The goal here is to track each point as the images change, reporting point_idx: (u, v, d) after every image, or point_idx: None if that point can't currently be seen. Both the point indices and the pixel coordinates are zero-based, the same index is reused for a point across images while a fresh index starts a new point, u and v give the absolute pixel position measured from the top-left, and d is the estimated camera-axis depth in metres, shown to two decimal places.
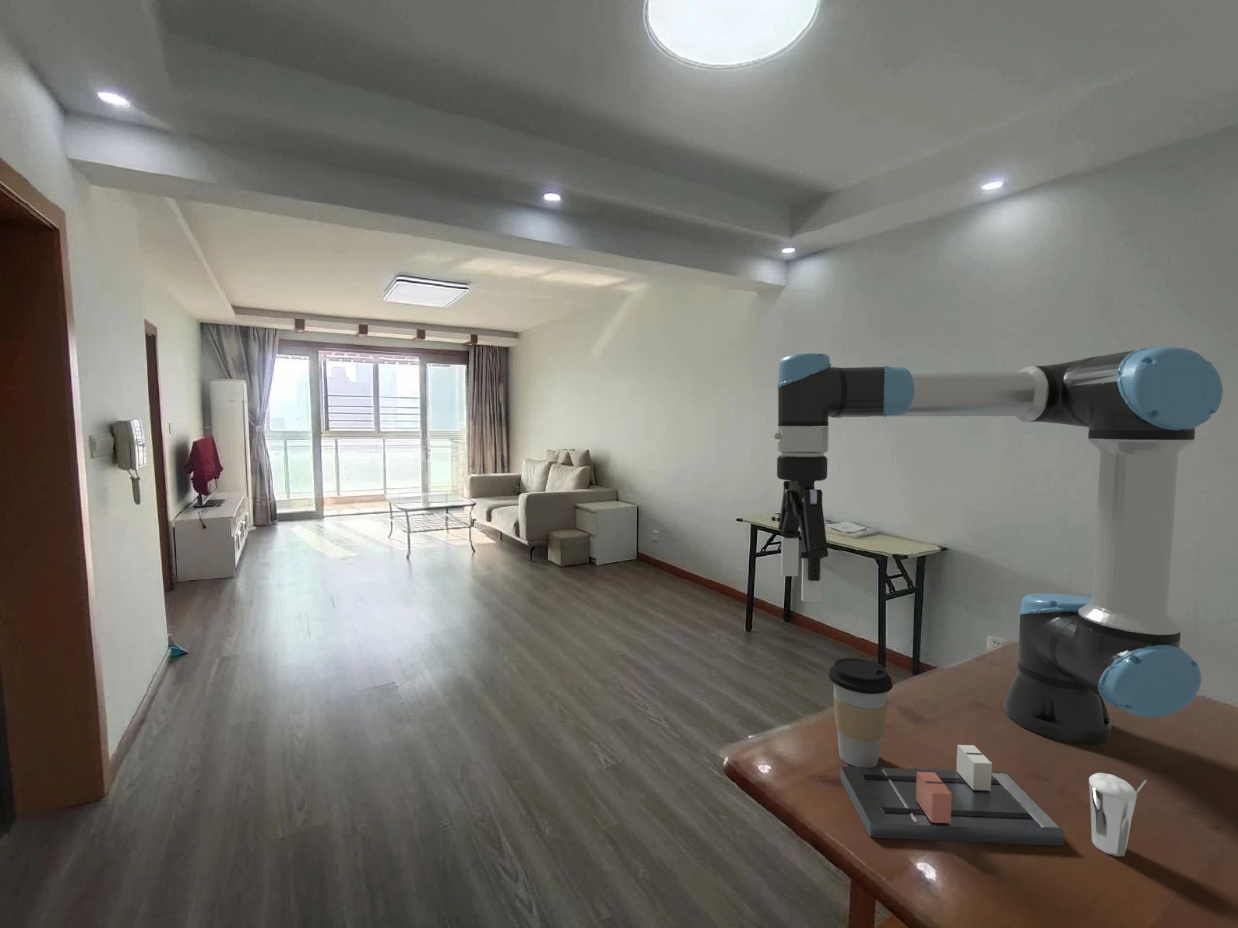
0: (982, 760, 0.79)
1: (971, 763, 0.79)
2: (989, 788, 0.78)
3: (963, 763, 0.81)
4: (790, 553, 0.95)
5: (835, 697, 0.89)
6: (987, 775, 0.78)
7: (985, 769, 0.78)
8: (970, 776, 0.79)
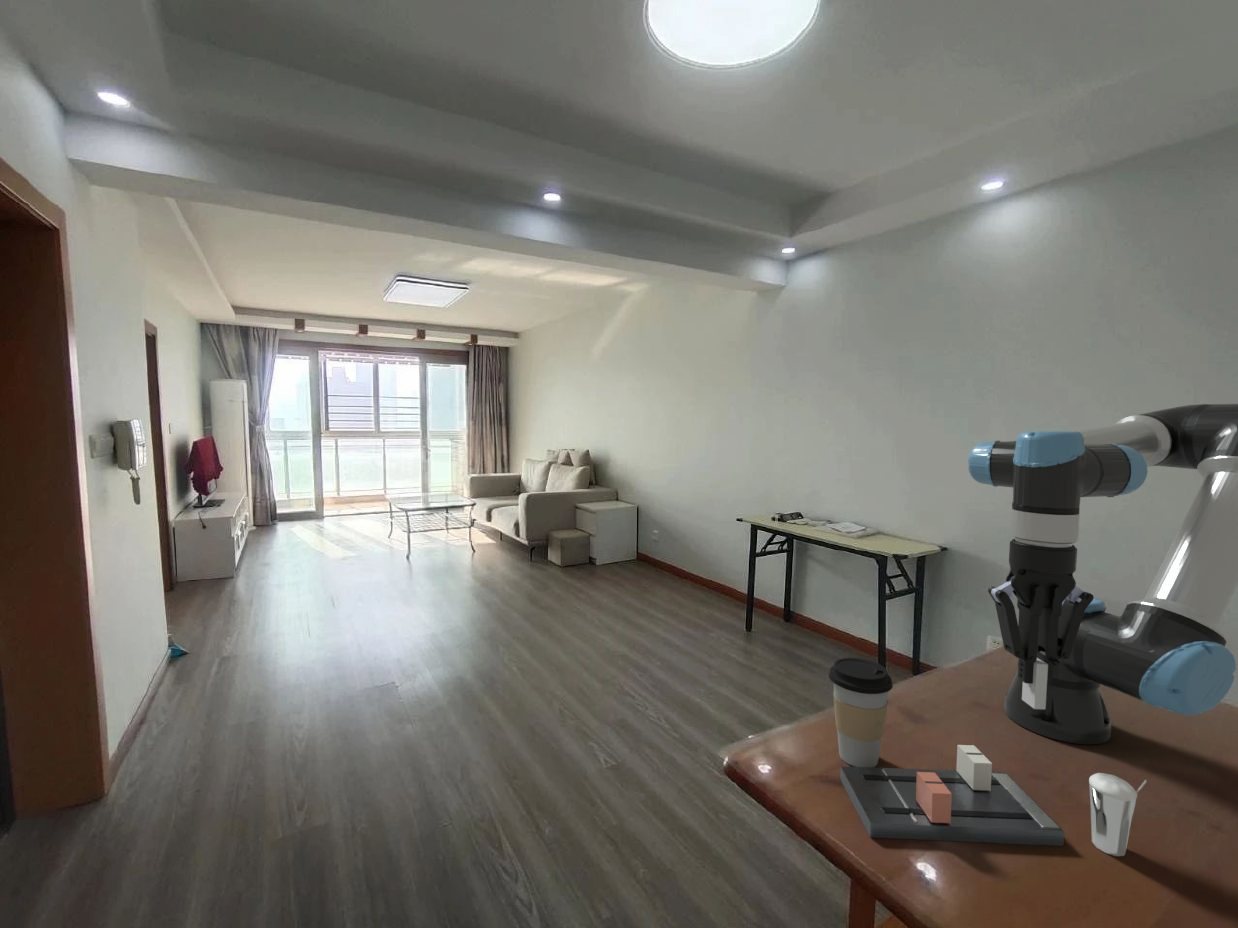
0: (982, 760, 0.79)
1: (971, 763, 0.79)
2: (989, 788, 0.78)
3: (963, 763, 0.81)
4: None
5: (835, 697, 0.89)
6: (987, 775, 0.78)
7: (985, 769, 0.78)
8: (970, 776, 0.79)
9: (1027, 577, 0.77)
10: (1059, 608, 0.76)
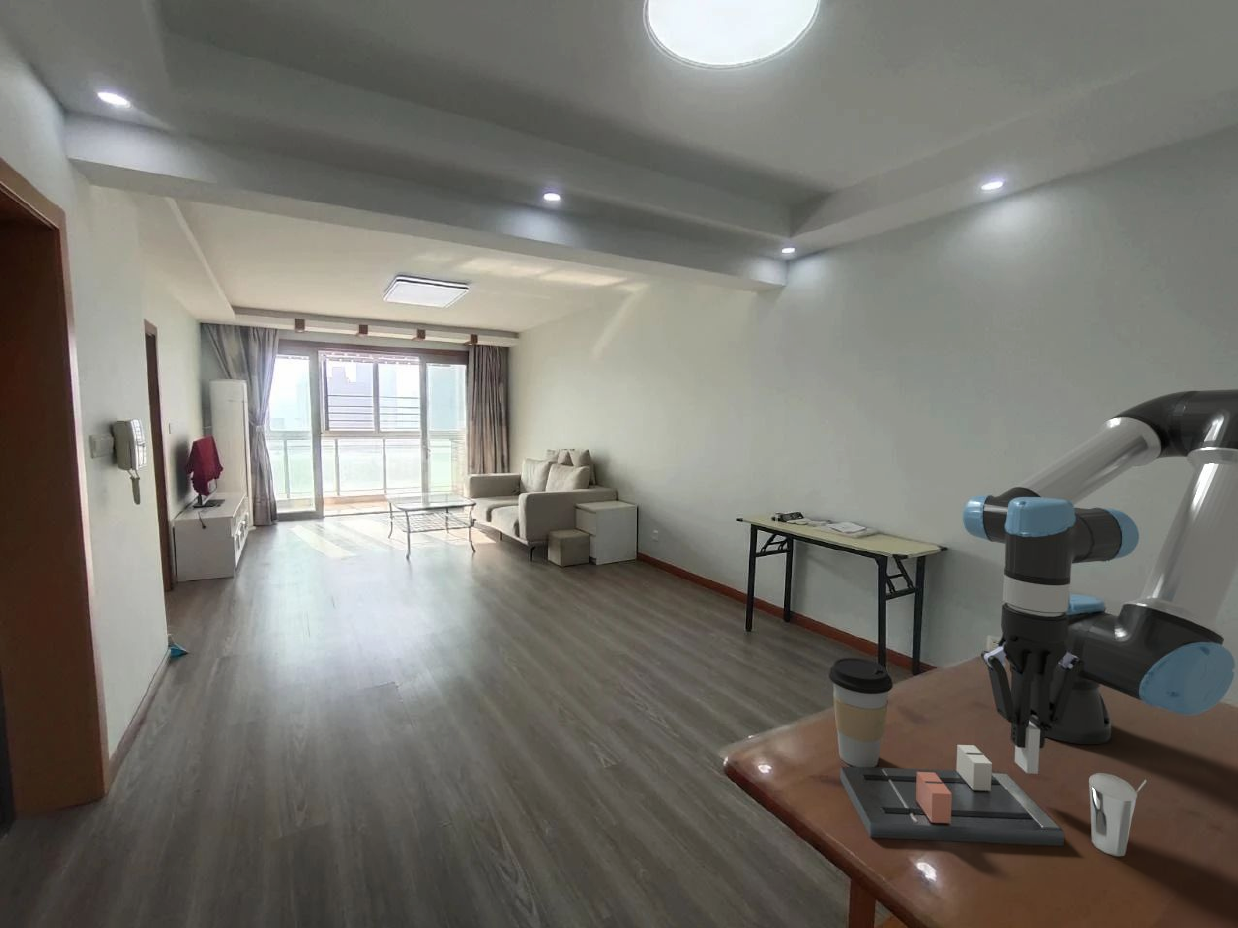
0: (982, 760, 0.79)
1: (971, 763, 0.79)
2: (989, 788, 0.78)
3: (963, 763, 0.81)
4: None
5: (835, 697, 0.89)
6: (987, 775, 0.78)
7: (985, 769, 0.78)
8: (970, 776, 0.79)
9: (1019, 643, 0.78)
10: (1051, 674, 0.77)
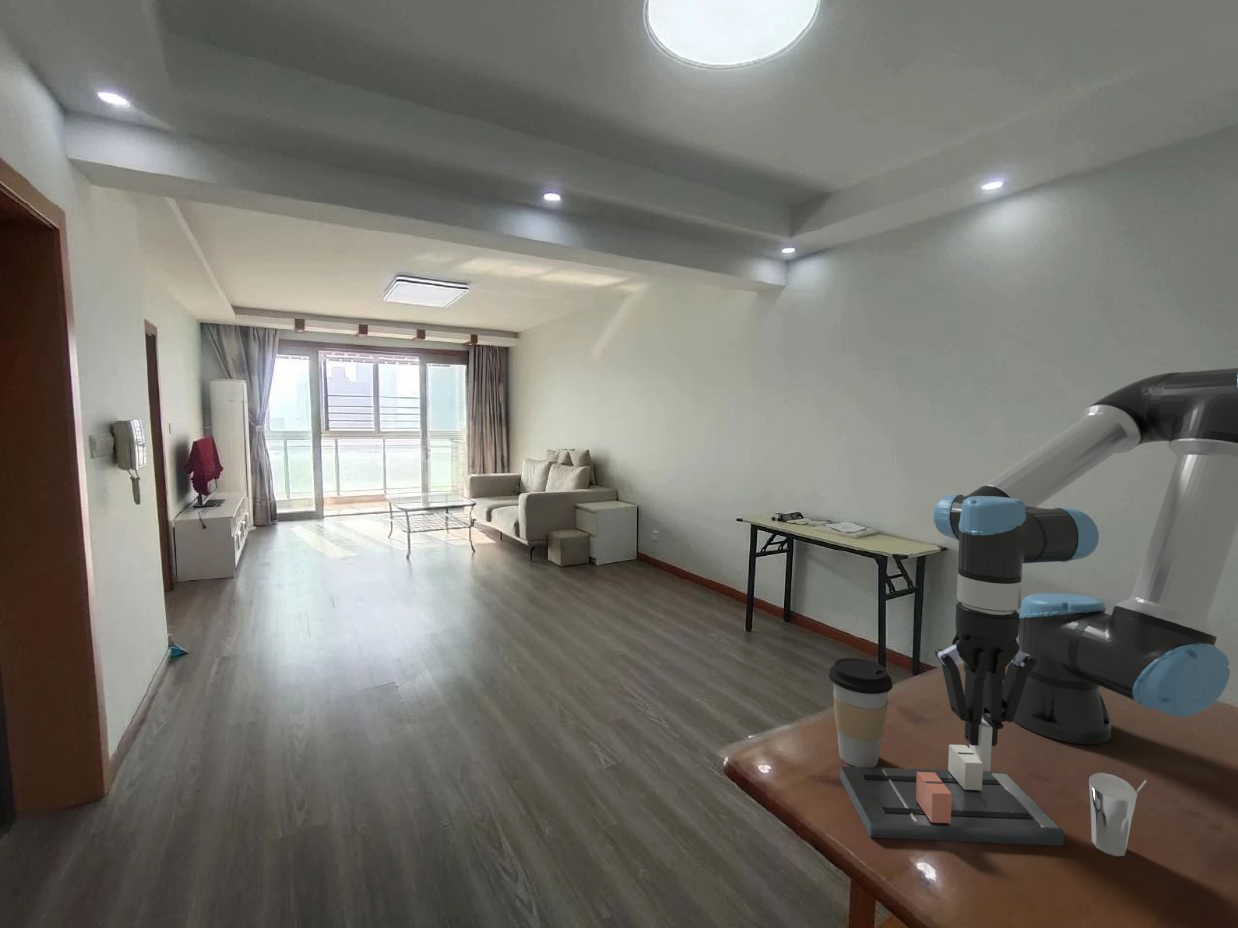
0: (973, 760, 0.79)
1: (962, 763, 0.79)
2: (980, 788, 0.78)
3: (955, 763, 0.81)
4: None
5: (835, 697, 0.89)
6: (978, 775, 0.78)
7: (976, 769, 0.78)
8: (962, 775, 0.79)
9: (971, 642, 0.78)
10: (1002, 673, 0.78)
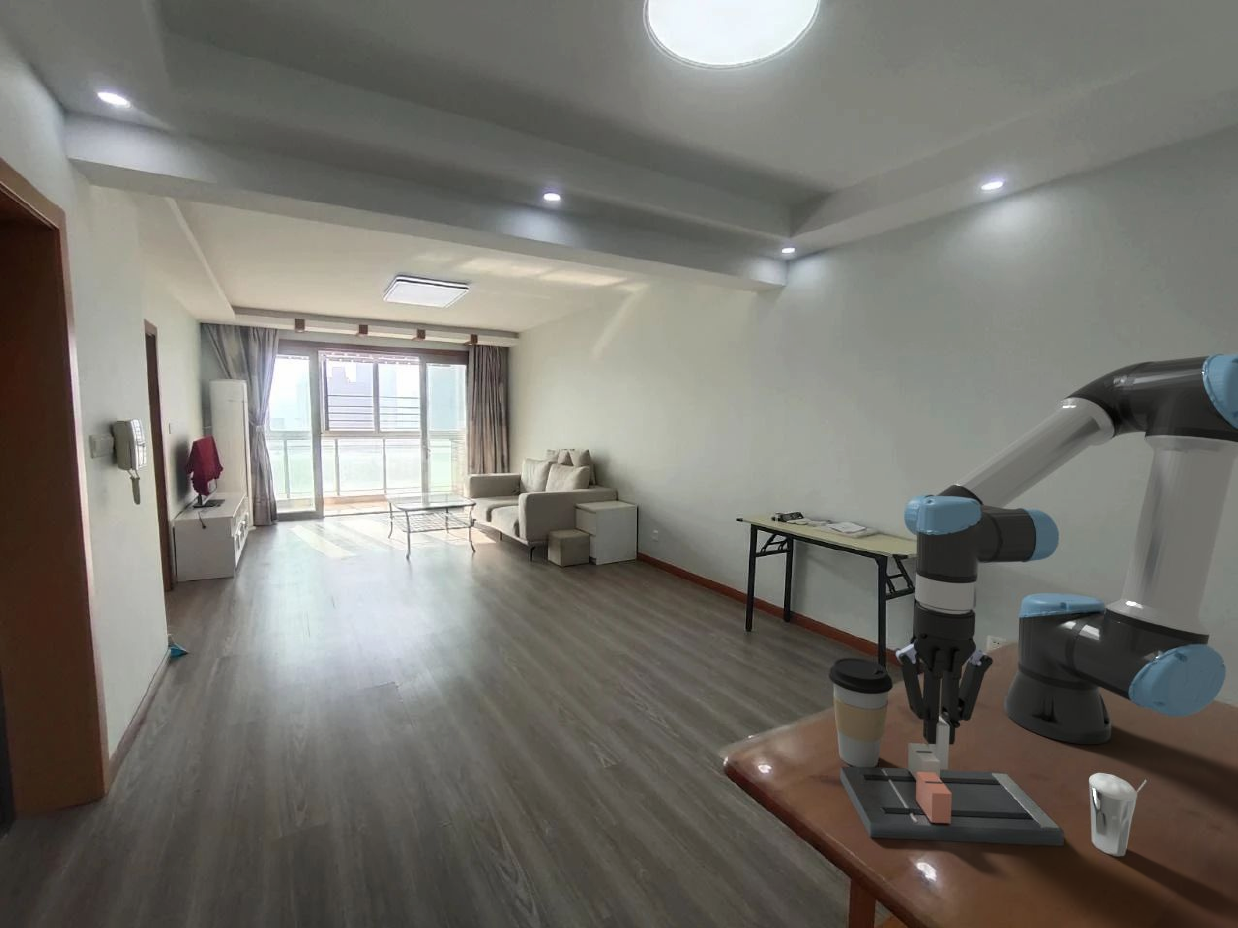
0: (931, 758, 0.79)
1: (920, 761, 0.79)
2: None
3: (914, 761, 0.81)
4: None
5: (835, 697, 0.89)
6: None
7: (934, 767, 0.79)
8: None
9: (928, 641, 0.79)
10: (959, 671, 0.78)
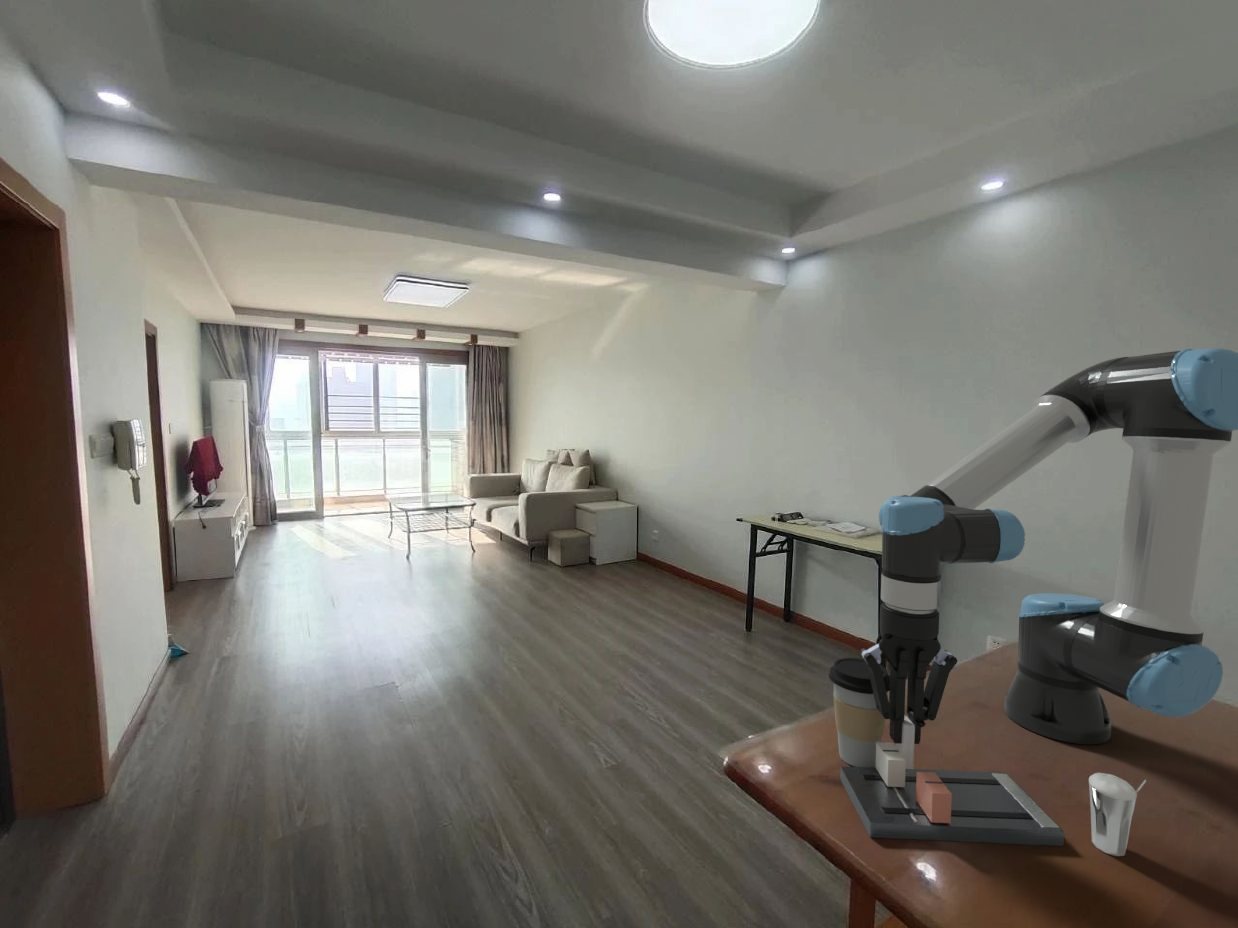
0: (897, 757, 0.80)
1: (886, 760, 0.80)
2: (903, 785, 0.79)
3: (880, 760, 0.82)
4: None
5: (835, 697, 0.89)
6: (901, 772, 0.79)
7: (899, 766, 0.79)
8: (885, 773, 0.80)
9: (893, 641, 0.79)
10: (924, 671, 0.78)
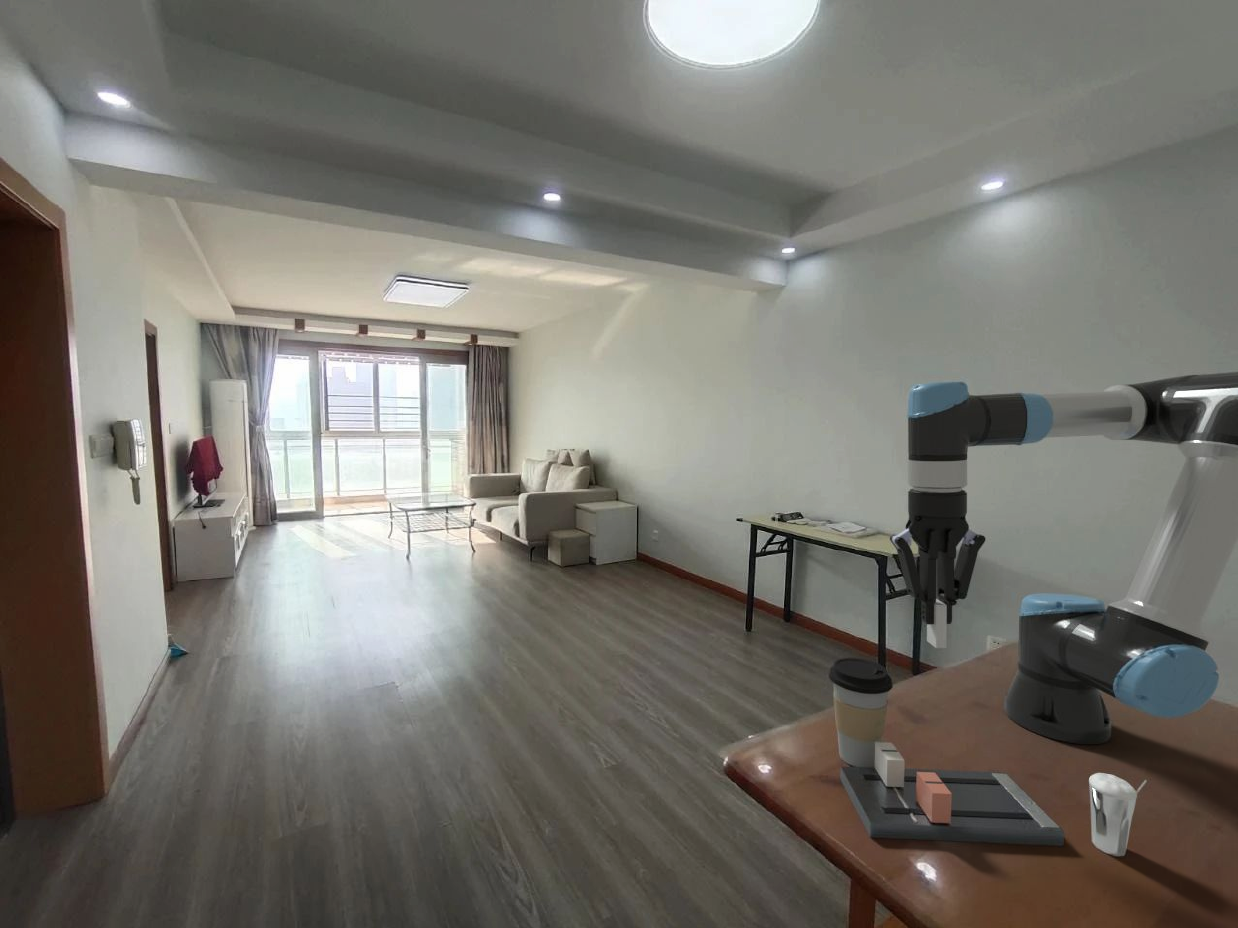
0: (896, 757, 0.80)
1: (885, 760, 0.80)
2: (902, 785, 0.79)
3: (879, 760, 0.82)
4: None
5: (835, 697, 0.89)
6: (900, 772, 0.79)
7: (898, 766, 0.79)
8: (884, 772, 0.80)
9: (923, 523, 0.81)
10: (953, 551, 0.80)
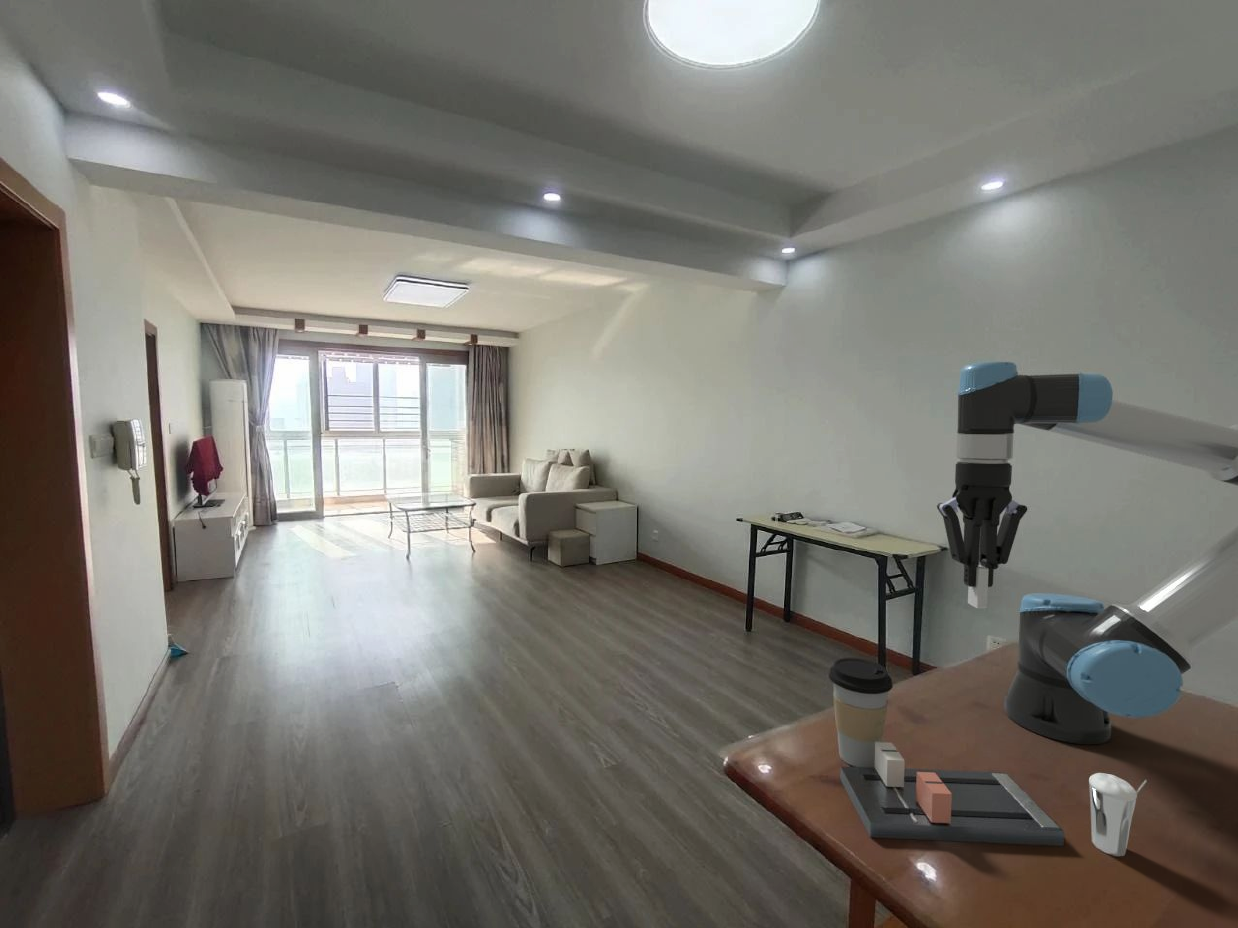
0: (896, 757, 0.80)
1: (885, 760, 0.80)
2: (902, 785, 0.79)
3: (879, 760, 0.82)
4: None
5: (835, 697, 0.89)
6: (900, 772, 0.79)
7: (898, 766, 0.79)
8: (884, 772, 0.80)
9: (969, 492, 0.88)
10: (997, 518, 0.87)
